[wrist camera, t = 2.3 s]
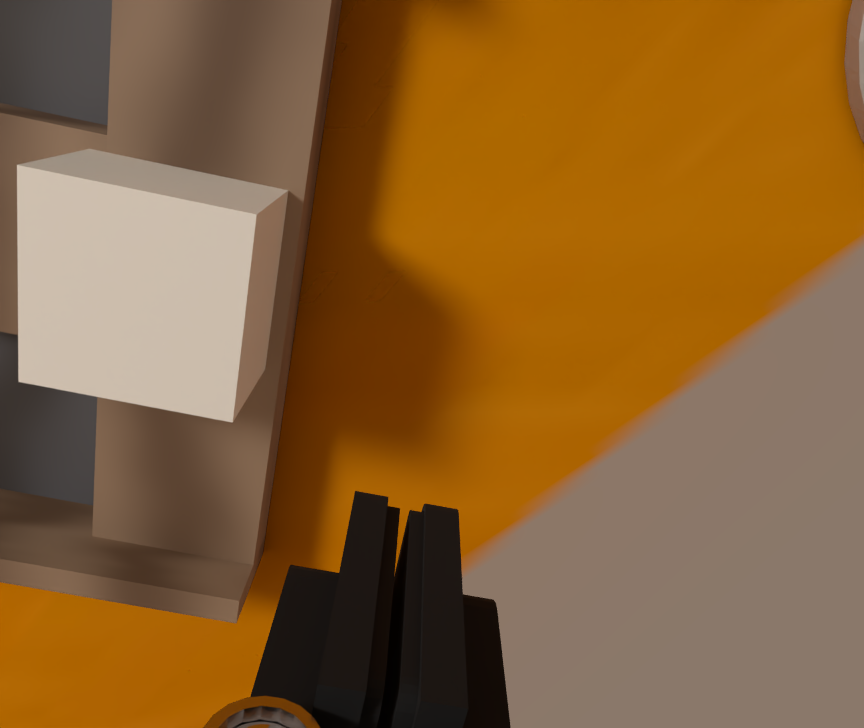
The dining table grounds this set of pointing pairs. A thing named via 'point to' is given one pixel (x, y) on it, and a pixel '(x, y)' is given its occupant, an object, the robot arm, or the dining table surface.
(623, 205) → the dining table surface
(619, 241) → the dining table surface
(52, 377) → the cream block
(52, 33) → the box
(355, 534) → the robot arm
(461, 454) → the dining table surface
